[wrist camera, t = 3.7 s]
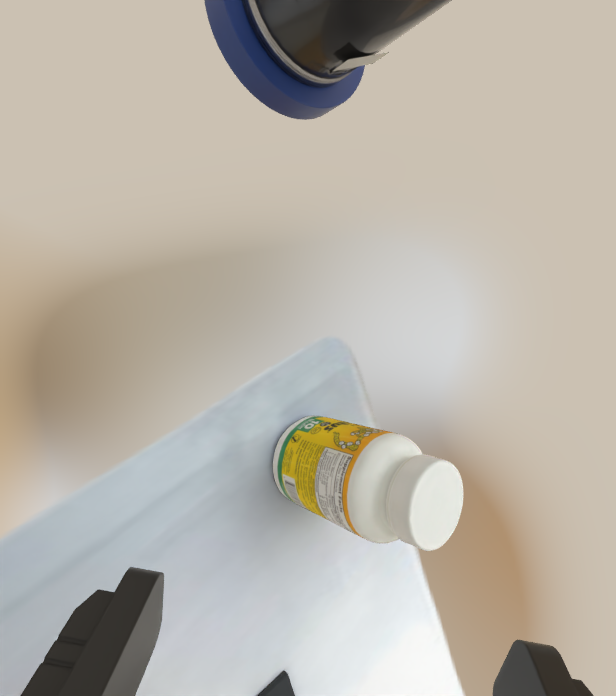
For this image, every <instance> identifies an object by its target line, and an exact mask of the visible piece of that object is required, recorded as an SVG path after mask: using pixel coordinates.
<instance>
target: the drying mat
mask: <svg viewBox="0 0 616 696" xmlns="http://www.w3.org/2000/svg"><path fill="white" fill-rule="evenodd" d="M258 696H295V695H294V692H293V689H292V686H291V682H290V679H289V676H288V674H287V673H286V672H285V671H283V672H282V673H281V674H280V675H279V676H278V677H277V678H276V679H275V680H274V681H273V682H272V683H271V684H270V685H269V686H268V687H267V688H266V689H265V690H263V691H262V692H261V693H260V694H259V695H258Z"/></svg>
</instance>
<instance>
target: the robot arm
mask: <svg viewBox="0 0 616 696" xmlns="http://www.w3.org/2000/svg"><path fill="white" fill-rule="evenodd" d="M450 1H451V0H242V3H243V6H244V10H245V13H246V15H247V18H248V21H249V23H250V25H251V27H252V29H253V31H254V33H255V35H256V37H257V39H258V41H259V42H260V44H261V45H262V47H263V48H264V50H265V51H266V53H267V54H268V55H269V56H270V58H271V59H272V60H273V61H274V62H275V63H276V64H277V65H278V66H279V67H280V68H281V69H282V70H283V71H284V72H285V73H286V74H288V75H289V76H290V77H292V78H293V79H295V80H297V81H298V82H300V83H302V84H305V85H308V86H311V87H317V88H324V87H329V86H332V85H334V84H336V83H338V82H339V81H341V80H342V79H343V78H345V77H346V76H348V75H349V74H350V73H351V72H352V71H353V70H355V69H356V68H357V67H359V66H363V65H368V64H373V63H374V62H376V61H377V60H379V59H380V58H382V57H383V56H385V55H386V54H387V53H382V54H377V55H375V54H376V53H378V52H379V51H381V50H382V49H384V48H385V47H386V46H388V45H389V44H391V43H392V42H393V41H395V40H396V39H398V38H399V37H401V36H402V35H403V34H405V33H406V32H408V31H409V30H410V29H412V28H413V27H415V26H416V25H418V24H419V23H420V22H422V21H423V20H425V19H426V18H427V17H429V16H430V15H432V14H433V13H435V12H436V11H437V10H439V9H440V8H442V7H443V6H444V5H446V4H447V3H449V2H450ZM163 588H164V574H163V573H161V572H156V571H150V570H145V569H140V568H134V567H130V568H129V569H128V570H127V572H126V573H125V575H124V576H123V578H122V580H121V582H120V583H119V585H118V587H117V589H116V591H115V592H109V591H104V590H97V591H96V592H95V593H94V594H92V595H91V596H90V597H89V598H88V599H87V600H85V601H84V602H83V603H82V604H81V605H80V606H79V607H77V608H76V609H75V610H74V612H73V614H72V615H71V617H70V618H69V620H68V621H67V623H66V625H65V626H64V628H63V629H62V631H61V633H60V634H59V637H58V639H57V641H55V642H54V644H53V645H52V647H51V648H50V650H49V651H48V653H47V655H46V656H45V659H44V661H43V663H41V664H40V666H39V667H38V669H37V670H36V672H35V674H34V675H33V677H32V678H31V680H30V682H29V683H28V685H27V686H26V688H25V689H24V691H23V693H22V694H21V696H135V694H136V692H137V689H138V687H139V684H140V682H141V680H142V677H143V675H144V672H145V670H146V667H147V665H148V662H149V660H150V657H151V655H152V653H153V650H154V647H155V645H156V641H157V638H158V635H159V631H160V627H161V621H162V607H163ZM493 696H593V694H592V693H591V692H590V691H589V690H588V688H587V687H586V686H585V685H584V684H583V682H582V681H581V680H575V679H572V678H571V677H570V674H569V672H568V670H567V668H566V666H565V663H564V661H563V659H562V657H561V655H560V654H559V652H558V651H557V650H556V649H555V648H554V647H553V646H550V645H544V644H538V643H533V642H528V641H522V640H516V641H515V642H514V643H513V645H512V647H511V649H510V651H509V653H508V655H507V657H506V659H505V661H504V663H503V665H502V667H501V669H500V672H499V674H498V676H497V678H496V680H495V682H494V687H493Z"/></svg>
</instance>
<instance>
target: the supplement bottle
mask: <svg viewBox="0 0 616 696" xmlns="http://www.w3.org/2000/svg"><path fill="white" fill-rule="evenodd" d="M273 474H274V478H275V482H276V484H277V486H278V488H279V490H280V491H281V493H282V494H283V495H284V496H285V497H286V498H288V499H289V500H291V501H292V502H294V503H296V504H297V505H299V506H301V507H303V508H305V509H307V510H309V511H311V512H313V513H316V514H318V515H320V516H322V517H324V518H325V519H327V520H329V521H331V522H333V523H335V524H337V525H339V526H341V527H343V528H344V529H346V530H348V531H350V532H352V533H354V534H356V535H358V536H360V537H362V538H364V539H366V540H369V541H371V542H375V543H390V542H393V541H396V540H398V539H400V540H401V541H403V542H405V543H408V544H411V545H413V546H415V547H418V548H420V549H423V550H426V551H431V550H435V549H438V548H439V547H441V546H442V545H443V544H444V543H445V542H446V541H447V540H448V539H449V538H450V536H451V535H452V533H453V532H454V529H455V527H456V525H457V523H458V520H459V517H460V514H461V510H462V504H463V484H462V479H461V476H460V474H459V472H458V470H457V468H456V467H455V466H454V465H453V464H452V463H450V462H448V461H446V460H443V459H440V458H436V457H433V456H430V455H426V454H423V453H422V452H421V450H420V449H419V447H418V446H417V445H416V444H415V443H414V442H413V441H411V440H410V439H409V438H407V437H405V436H402V435H400V434H397V433H392V432H388V431H383V430H379V429H374V428H370V427H365V426H361V425H357V424H352V423H348V422H344V421H339V420H335V419H331V418H327V417H321V416H307V417H304V418H302V419H300V420H299V421H297V422H295V423H294V424H292V425H291V426H290V427H289V428H288V429H287V430H286V431H285V432H284V433H283V435H282V436H281V438H280V439H279V441H278V444H277V446H276V449H275V453H274V459H273Z"/></svg>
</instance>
